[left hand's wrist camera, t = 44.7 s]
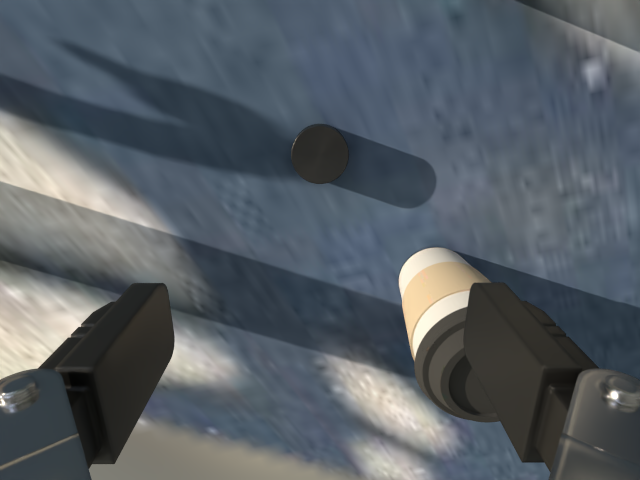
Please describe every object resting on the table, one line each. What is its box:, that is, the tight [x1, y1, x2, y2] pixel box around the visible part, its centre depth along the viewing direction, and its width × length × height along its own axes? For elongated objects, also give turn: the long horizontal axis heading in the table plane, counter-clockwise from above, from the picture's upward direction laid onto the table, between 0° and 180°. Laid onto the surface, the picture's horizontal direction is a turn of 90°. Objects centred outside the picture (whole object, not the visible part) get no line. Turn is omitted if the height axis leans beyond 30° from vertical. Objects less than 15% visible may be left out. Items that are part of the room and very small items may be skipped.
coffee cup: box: [399, 248, 500, 422], centre depth 33 cm, size 9×9×15 cm
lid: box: [291, 124, 349, 184], centre depth 35 cm, size 5×5×2 cm
